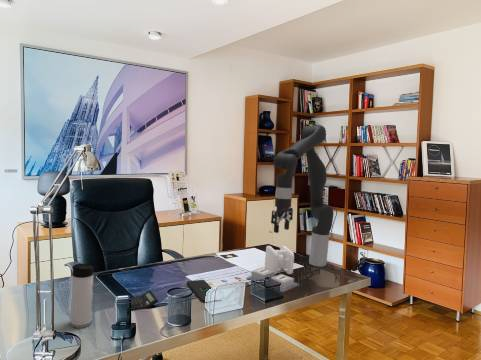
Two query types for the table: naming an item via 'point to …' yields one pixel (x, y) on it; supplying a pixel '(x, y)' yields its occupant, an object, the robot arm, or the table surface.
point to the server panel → (274, 278)
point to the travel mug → (82, 295)
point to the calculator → (143, 301)
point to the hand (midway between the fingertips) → (281, 231)
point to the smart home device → (199, 288)
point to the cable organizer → (279, 259)
